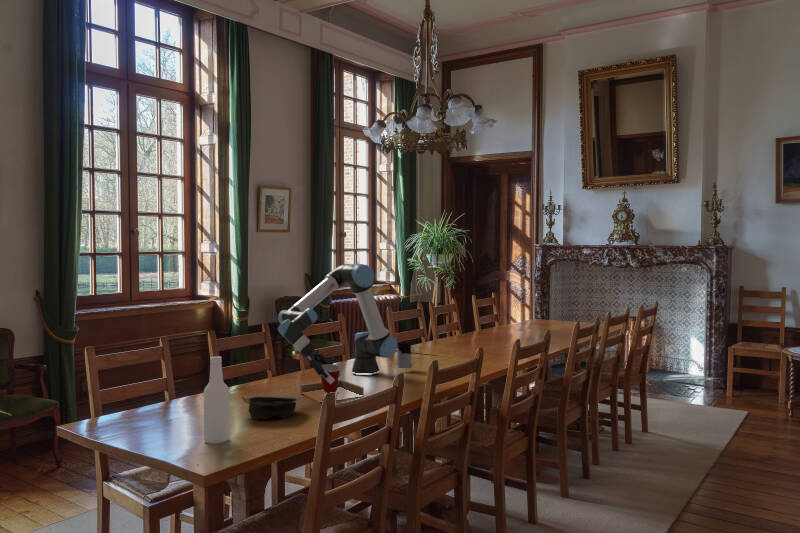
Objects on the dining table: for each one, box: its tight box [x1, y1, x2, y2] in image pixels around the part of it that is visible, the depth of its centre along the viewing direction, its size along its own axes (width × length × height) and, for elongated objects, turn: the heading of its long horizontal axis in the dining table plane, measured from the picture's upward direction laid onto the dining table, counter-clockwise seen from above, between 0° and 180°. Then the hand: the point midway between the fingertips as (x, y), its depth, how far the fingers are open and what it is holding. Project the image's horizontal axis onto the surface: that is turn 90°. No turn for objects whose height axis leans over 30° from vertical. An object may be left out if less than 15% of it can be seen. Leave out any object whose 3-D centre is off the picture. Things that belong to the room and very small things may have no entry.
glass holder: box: [396, 343, 422, 369], centre depth 359 cm, size 9×14×15 cm, turn 107°
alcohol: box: [203, 355, 231, 445], centre depth 227 cm, size 9×9×30 cm
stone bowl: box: [242, 395, 304, 421], centre depth 262 cm, size 25×25×9 cm
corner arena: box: [299, 379, 365, 401], centre depth 298 cm, size 22×22×4 cm
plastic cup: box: [319, 363, 342, 393], centre depth 300 cm, size 11×11×12 cm
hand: (336, 379), depth 298 cm, fingers open, 13 cm apart
